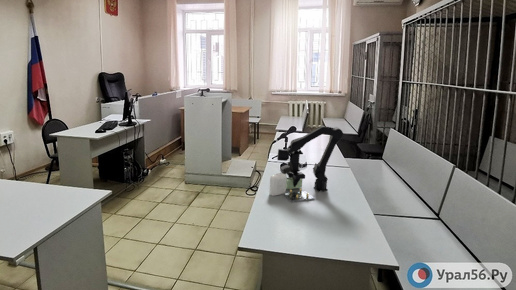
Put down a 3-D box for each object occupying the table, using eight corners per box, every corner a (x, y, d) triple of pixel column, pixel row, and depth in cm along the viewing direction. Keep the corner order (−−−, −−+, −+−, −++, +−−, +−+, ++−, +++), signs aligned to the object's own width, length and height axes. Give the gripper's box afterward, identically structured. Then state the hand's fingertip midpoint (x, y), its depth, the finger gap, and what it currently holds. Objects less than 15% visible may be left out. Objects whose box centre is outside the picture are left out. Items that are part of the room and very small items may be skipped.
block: (298, 185, 205) (298, 176, 204) (301, 187, 201) (302, 179, 200) (283, 186, 202) (284, 178, 200) (286, 189, 198) (287, 180, 196)
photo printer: (282, 191, 196) (283, 171, 193) (286, 193, 193) (288, 173, 190) (268, 194, 191) (269, 173, 188) (272, 196, 187) (273, 176, 184)
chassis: (305, 192, 195) (305, 187, 194) (314, 199, 185) (314, 193, 184) (283, 194, 190) (283, 189, 189) (291, 202, 180) (292, 196, 179)
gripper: (275, 157, 203) (274, 181, 207) (288, 166, 186) (287, 192, 190) (292, 156, 207) (290, 180, 211) (306, 165, 190) (304, 190, 194)
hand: (292, 185), depth 201 cm, fingers closed on block, 4 cm apart
